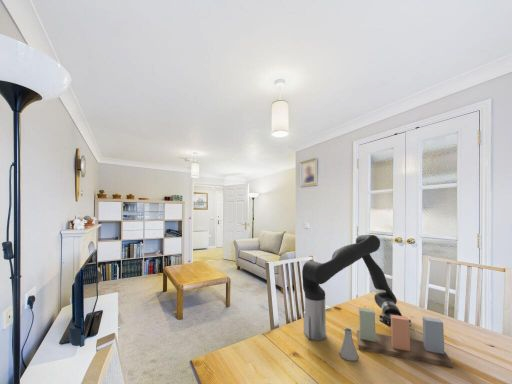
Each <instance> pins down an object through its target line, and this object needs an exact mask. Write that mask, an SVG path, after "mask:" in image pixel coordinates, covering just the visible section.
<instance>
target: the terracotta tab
mask: <svg viewBox="0 0 512 384" xmlns="http://www.w3.org/2000/svg"><path fill="white" fill-rule="evenodd" d="M409 320H410V319H409V317H408V316H403V315H402V316H397V315H391V327H390V336H391V343H392V347H393V348H395V349H400V350H406V351H410V339H411V338H410V337H411V335H410V333H411V332H410V327H409Z"/></svg>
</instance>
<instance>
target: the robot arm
mask: <svg viewBox="0 0 512 384" xmlns="http://www.w3.org/2000/svg"><path fill="white" fill-rule="evenodd" d="M380 247H381V240H380V239H379V237H378V236H377V235H375V234H362V235H358V236H357V237H356V238H355V243H351V244H347V245H344V246H342V247H340V248H337V249H336V250H335V251H334V252H333V253H332V256H331V259H330V260H328V261H326V262H321V263H320V262H317V261H315V260H307V261H305V262H304V264H303V266H302V269H301V270H302V272H301V275H302V289H303V292H304V311H303V333H304V335H305V336H306V337H307V339H308V340H313V341H322V340H325V339H326V336H327V330H326V329H327V328H326V327H327V326H326V318H327V317H326V292H325V290H324V289H323V288H322V287H321V286H320V285H323V284H325V283H327V282H328V281H329V280H330V279H331V278H332V277H334V276H335V275H337V274H338V273H339V272H341V271H343V270H344V269H346V268H348V267H349V266H351V265H353V264H354V263H356V262H357V261H360V259H362V261H363V262H364V264H365V266H366V268H367V270H368V272H369V275H370V278H371V281H372V284H373V287H374V289H376V290H378V291H383V292H376V293H375V295H374V297H373V298H374V301H375V303H376V305H377V306H378V307H379V308H380V309H381V313H382V315H381V314H380V315H379V316H378V317H379V322H381V324H384V325H385V326H387V327H389V328H391V315H397V316H403V314H402V313H401V310H400V309H399V307H398V305H397V301H398V299H397V298H396V295H395V294H394V292H393V291H392V289H391V287H390V286H389V284H388V282H387V281H388V280H387V279H386V275H385V273H384V271H383V269H382V268H381V267H380V266H379V264H378V263H377V262H376V261H375V259H373V257H372V255H371V254H372V253H375V252H377V251H378V250H380ZM410 327H412V320H411V319H409V328H410Z"/></svg>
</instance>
